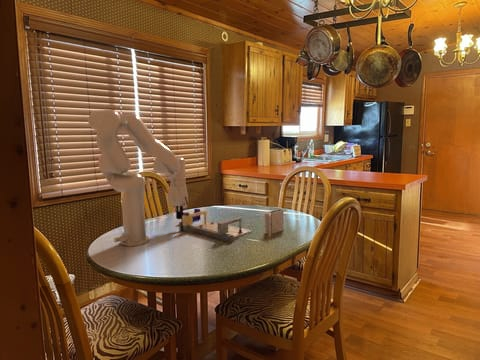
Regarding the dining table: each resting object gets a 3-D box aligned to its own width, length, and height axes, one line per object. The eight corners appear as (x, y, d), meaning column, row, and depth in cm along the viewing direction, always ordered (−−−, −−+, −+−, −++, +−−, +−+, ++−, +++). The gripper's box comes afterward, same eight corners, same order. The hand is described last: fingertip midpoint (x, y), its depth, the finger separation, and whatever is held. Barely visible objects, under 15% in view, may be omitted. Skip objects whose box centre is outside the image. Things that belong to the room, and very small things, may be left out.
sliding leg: (186, 230, 176) (185, 213, 175) (182, 229, 178) (182, 213, 177) (207, 224, 188) (207, 208, 186) (204, 223, 189) (204, 207, 188)
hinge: (270, 236, 168) (269, 215, 166) (260, 235, 171) (259, 214, 170) (284, 229, 179) (284, 209, 177) (275, 228, 182) (275, 208, 181)
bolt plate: (235, 237, 167) (235, 234, 166) (194, 228, 185) (194, 225, 185) (251, 232, 176) (251, 229, 175) (211, 223, 194) (210, 220, 194)
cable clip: (194, 218, 205) (194, 208, 205) (200, 219, 203) (200, 209, 202) (179, 223, 196) (179, 212, 195) (185, 224, 193) (185, 213, 192)
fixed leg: (221, 239, 161) (221, 223, 160) (217, 238, 162) (217, 223, 161) (243, 231, 172) (242, 217, 171) (239, 231, 173) (239, 216, 172)
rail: (228, 243, 159) (228, 233, 158) (179, 230, 180) (179, 222, 180) (234, 241, 162) (234, 231, 161) (185, 229, 183) (185, 220, 183)
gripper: (162, 182, 182) (164, 217, 184) (182, 184, 172) (183, 222, 174) (174, 180, 187) (176, 215, 190) (193, 182, 177) (195, 219, 180)
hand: (179, 218), depth 182 cm, fingers closed
